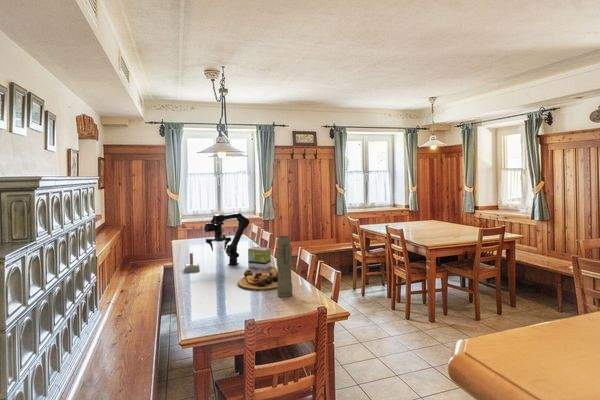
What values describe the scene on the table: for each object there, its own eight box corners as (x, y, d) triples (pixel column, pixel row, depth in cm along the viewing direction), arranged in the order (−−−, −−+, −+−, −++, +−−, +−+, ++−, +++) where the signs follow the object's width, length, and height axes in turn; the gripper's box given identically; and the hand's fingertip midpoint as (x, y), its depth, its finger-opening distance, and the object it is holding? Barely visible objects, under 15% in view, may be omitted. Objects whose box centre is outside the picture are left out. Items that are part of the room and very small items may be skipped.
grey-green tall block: (287, 291, 228) (286, 234, 226) (295, 297, 218) (294, 237, 215) (274, 293, 225) (272, 235, 222) (281, 299, 214) (280, 238, 211)
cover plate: (197, 267, 293) (196, 253, 292) (186, 268, 291) (185, 254, 290) (196, 264, 302) (196, 251, 302) (186, 265, 300) (185, 251, 299)
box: (199, 271, 281) (199, 266, 280) (185, 272, 277) (185, 267, 277) (198, 267, 291) (198, 262, 291) (185, 268, 288) (184, 264, 288)
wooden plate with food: (228, 282, 250) (228, 270, 249) (269, 273, 269) (269, 262, 268) (253, 295, 225) (253, 282, 224) (296, 284, 244) (296, 272, 243)
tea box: (248, 267, 289) (247, 248, 288) (254, 264, 298) (253, 246, 297) (265, 269, 283) (265, 249, 282) (271, 266, 292) (271, 247, 291)
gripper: (207, 233, 278) (207, 254, 279) (232, 231, 285) (232, 251, 286) (205, 231, 289) (205, 251, 290) (229, 229, 295) (230, 249, 296)
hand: (218, 250), depth 290 cm, fingers open, 9 cm apart
